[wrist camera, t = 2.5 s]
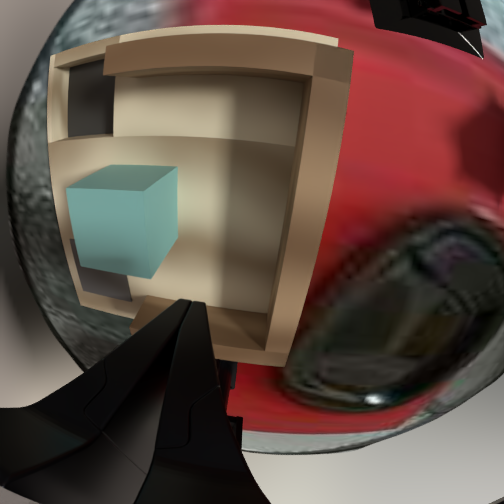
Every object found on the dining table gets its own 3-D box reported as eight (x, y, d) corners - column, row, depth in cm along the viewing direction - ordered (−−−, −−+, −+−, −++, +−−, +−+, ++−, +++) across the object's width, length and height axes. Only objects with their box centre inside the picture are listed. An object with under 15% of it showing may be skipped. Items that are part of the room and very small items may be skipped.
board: (280, 325, 22) (280, 343, 21) (91, 292, 23) (80, 305, 21) (330, 46, 12) (338, 38, 10) (68, 56, 12) (49, 56, 10)
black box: (349, 38, 12) (373, 18, 8) (332, -45, 8) (345, -78, 4) (493, 73, 10) (532, 76, 6) (477, -3, 7) (510, -13, 3)
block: (178, 237, 17) (151, 279, 13) (116, 229, 17) (80, 266, 13) (177, 166, 14) (143, 191, 11) (110, 164, 14) (65, 188, 11)
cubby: (284, 329, 20) (284, 366, 17) (149, 309, 20) (133, 341, 17) (335, 63, 11) (354, 51, 8) (139, 54, 11) (106, 45, 8)
